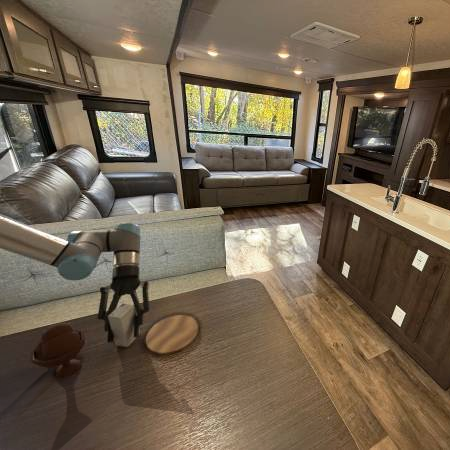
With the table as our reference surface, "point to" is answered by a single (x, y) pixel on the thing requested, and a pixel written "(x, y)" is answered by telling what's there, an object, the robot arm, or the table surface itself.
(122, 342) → the cosmetic box
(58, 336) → the ice cream bowl
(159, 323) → the wooden trivet
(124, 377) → the table surface
